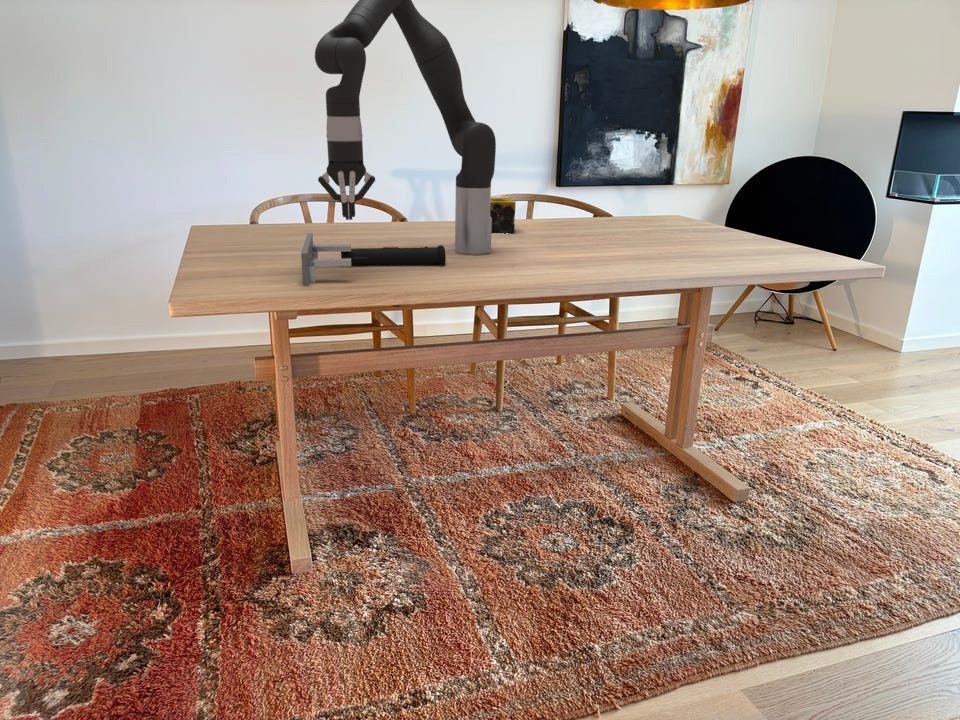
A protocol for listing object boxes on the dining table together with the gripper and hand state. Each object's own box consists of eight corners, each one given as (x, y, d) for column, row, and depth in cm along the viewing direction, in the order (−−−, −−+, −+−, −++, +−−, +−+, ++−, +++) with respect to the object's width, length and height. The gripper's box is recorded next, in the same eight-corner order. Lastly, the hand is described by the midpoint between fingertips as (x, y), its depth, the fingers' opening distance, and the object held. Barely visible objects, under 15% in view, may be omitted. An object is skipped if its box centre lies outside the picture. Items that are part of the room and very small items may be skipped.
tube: (443, 265, 183) (443, 243, 181) (446, 270, 178) (446, 247, 176) (341, 267, 178) (340, 244, 176) (341, 272, 173) (340, 249, 171)
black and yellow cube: (478, 228, 233) (479, 197, 230) (510, 228, 234) (511, 197, 231) (482, 234, 224) (483, 201, 220) (514, 234, 225) (516, 201, 221)
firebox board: (315, 265, 178) (313, 233, 175) (310, 290, 155) (308, 253, 153) (309, 265, 177) (307, 233, 175) (303, 290, 155) (301, 253, 152)
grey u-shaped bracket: (351, 267, 176) (350, 244, 174) (352, 286, 159) (351, 260, 157) (313, 268, 175) (312, 244, 173) (309, 287, 158) (308, 261, 156)
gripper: (374, 137, 162) (377, 216, 168) (314, 137, 160) (319, 217, 165) (376, 139, 155) (379, 221, 161) (312, 139, 153) (318, 222, 159)
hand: (348, 219), depth 163 cm, fingers closed
